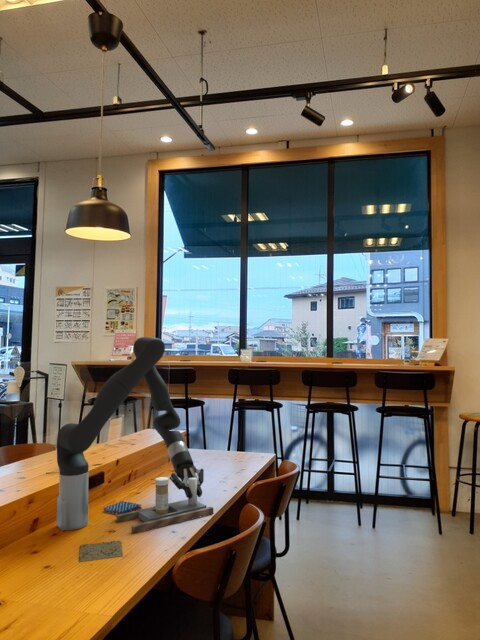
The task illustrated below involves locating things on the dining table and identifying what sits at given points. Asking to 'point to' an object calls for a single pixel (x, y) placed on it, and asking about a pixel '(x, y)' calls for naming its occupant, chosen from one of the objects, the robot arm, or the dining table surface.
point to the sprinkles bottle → (161, 495)
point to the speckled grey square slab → (100, 551)
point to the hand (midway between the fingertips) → (195, 496)
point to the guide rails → (162, 521)
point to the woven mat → (122, 507)
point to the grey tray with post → (175, 505)
